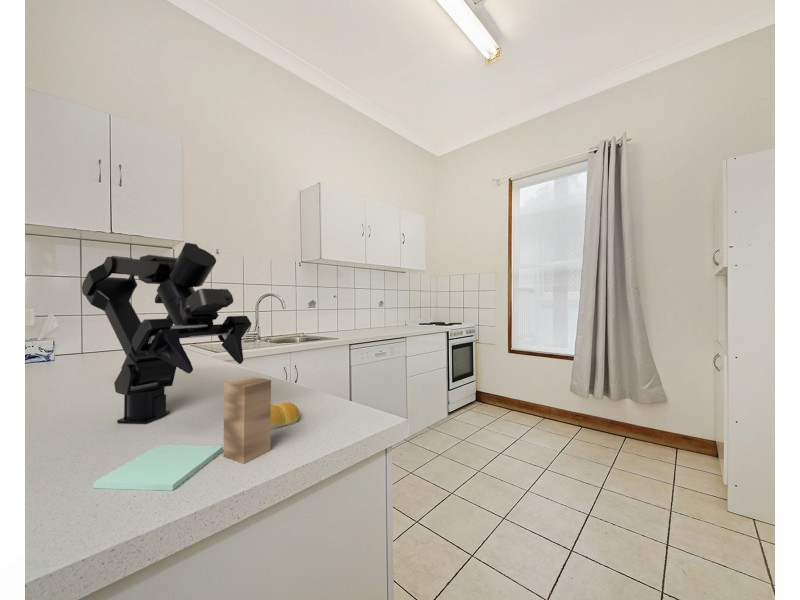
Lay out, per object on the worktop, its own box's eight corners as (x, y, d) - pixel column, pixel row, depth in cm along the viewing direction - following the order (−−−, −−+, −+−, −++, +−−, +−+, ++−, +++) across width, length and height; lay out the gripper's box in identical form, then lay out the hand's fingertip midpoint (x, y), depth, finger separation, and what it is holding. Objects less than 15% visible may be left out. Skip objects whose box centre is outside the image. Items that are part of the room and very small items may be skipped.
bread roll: (306, 421, 66) (306, 402, 66) (264, 434, 60) (264, 413, 60) (287, 411, 72) (287, 394, 72) (247, 422, 66) (247, 403, 66)
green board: (93, 488, 42) (93, 482, 42) (159, 449, 53) (159, 444, 53) (172, 490, 42) (172, 484, 42) (222, 451, 52) (222, 446, 52)
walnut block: (223, 456, 51) (224, 382, 51) (250, 444, 55) (251, 376, 55) (243, 464, 48) (244, 386, 49) (270, 450, 53) (271, 379, 53)
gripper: (141, 269, 50) (179, 342, 45) (246, 277, 66) (282, 332, 61) (117, 316, 53) (150, 390, 48) (222, 313, 70) (255, 368, 65)
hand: (218, 366), depth 56 cm, fingers open, 9 cm apart
